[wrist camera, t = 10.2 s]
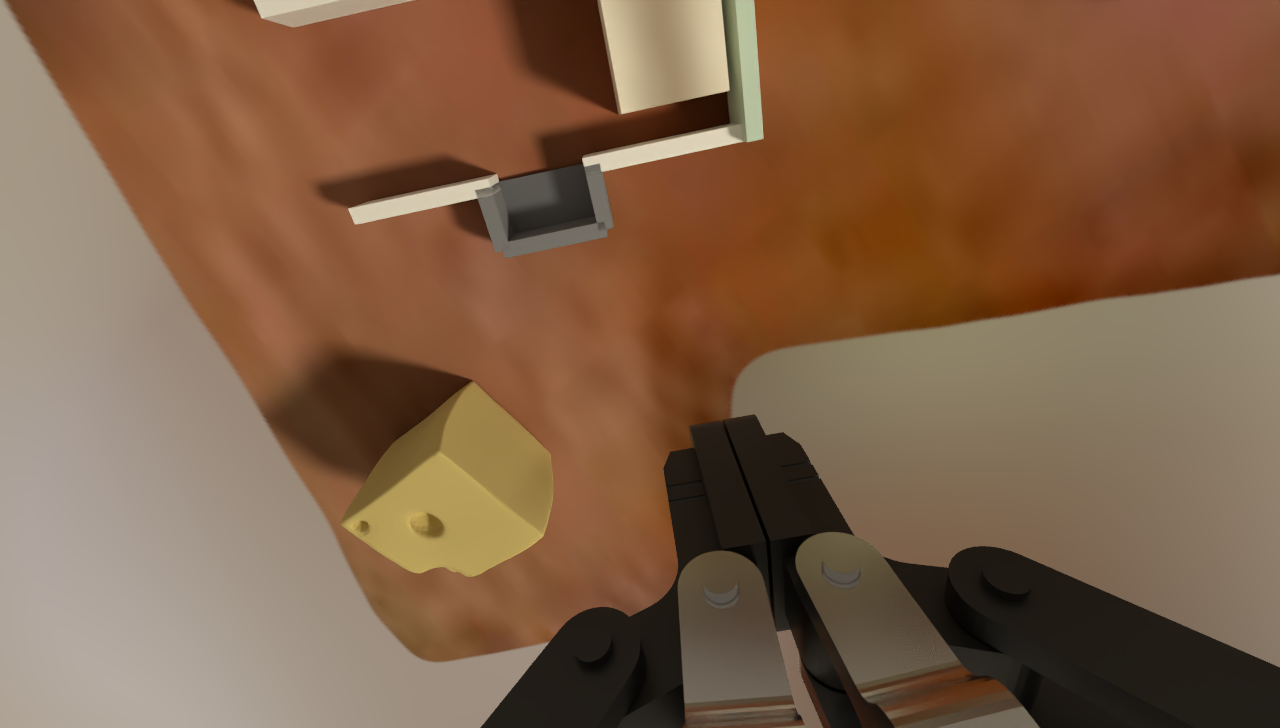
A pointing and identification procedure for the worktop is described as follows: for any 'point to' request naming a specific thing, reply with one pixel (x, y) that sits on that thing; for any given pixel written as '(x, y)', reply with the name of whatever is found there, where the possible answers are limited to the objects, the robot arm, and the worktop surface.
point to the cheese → (456, 490)
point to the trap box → (570, 195)
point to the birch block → (664, 50)
